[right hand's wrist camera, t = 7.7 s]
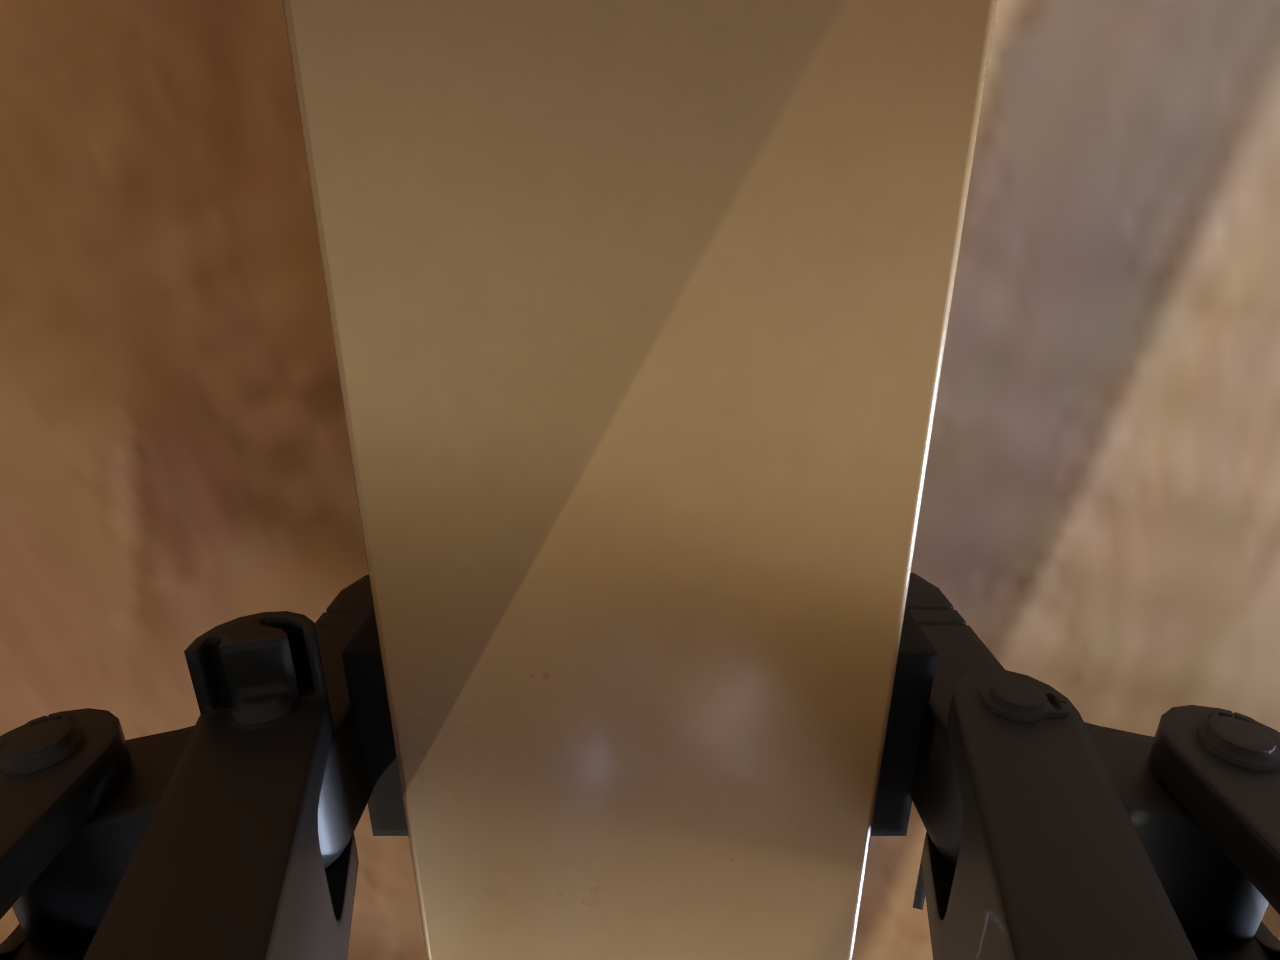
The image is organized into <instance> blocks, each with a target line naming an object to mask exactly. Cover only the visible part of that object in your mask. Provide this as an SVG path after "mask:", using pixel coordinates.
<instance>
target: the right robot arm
mask: <svg viewBox="0 0 1280 960" xmlns="http://www.w3.org/2000/svg"><path fill="white" fill-rule="evenodd" d="M184 653H185V656H186V660H187V664H188V668H189V671H190V675H191V679H192V683H193V686H194V690H195V694H196V698H197V701H198V705H199V709H200V713H201V715H200V717H199V719H198V721H197V723H196V725H195V726H191V727H187V728H184V729H179V730H175V731H170V732H165V733H160V734H155V735H150V736H145V737H140V738H135V739H130V740H125V737H124V734H123V731H122V728H121V725H120V722H119V719H118V718H117V717H115V716H114V715H113V714H111V713H110V712H109V711H105V710H97V709H90V708H87V709H79V710H72V711H63V712H58V713H54V714H49V716H43V717H40V718H37V719H34V720H31V721H29V722H28V723H26V724H25V725H22V726H20V727H18V728H16V729H14V730H12V731H10V732H7V733H5V734H3V735H2V736H0V919H1V918H2V917H3V916H4V915H5V913H6V912H7V911H8V910H9V909H10V908H11V907H12V908H13V910H14V912H15V914H16V917H17V919H18V921H19V925H18V926H17V927H16V928H15V930H14V931H13V932H12V933H11V934H10V936H9V937H8V938H7V939H6V940H5V941H4V942H2V943H1V944H0V960H347V953H348V945H349V937H350V929H351V921H352V912H353V904H354V896H355V888H356V879H357V871H358V863H359V862H358V855H357V847H356V842H355V837H354V830H355V828H356V826H357V824H358V822H359V820H360V817H361V815H362V813H363V811H364V809H365V807H366V805H367V802H368V807H369V813H370V819H371V824H372V830H373V836H409V834H408V828H407V821H406V815H405V808H404V801H403V795H402V788H401V782H400V775H399V768H398V762H397V755H396V748H395V742H394V735H393V729H392V722H391V715H390V709H389V702H388V696H387V689H386V682H385V676H384V669H383V662H382V656H381V649H380V643H379V636H378V629H377V623H376V616H375V609H374V603H373V596H372V590H371V583H370V576H369V575H366V576H364V577H363V578H361V579H360V580H358V581H356V582H355V583H353V584H351V585H350V586H348V587H347V588H345V589H343V590H342V591H341V592H340V593H339V594H338V596H337V597H336V598H335V599H334V600H333V602H332V603H331V604H330V605H329V607H328V608H327V612H326V613H323V614H322V615H321V617H320V618H319V619H318V620H317V621H316V623H314V622H313V621H312V620H310V619H309V618H308V617H306V616H305V615H302V614H297V613H292V612H287V611H283V612H263V613H258V614H254V615H249V616H244V617H240V618H237V619H234V620H232V621H229V622H226V623H224V624H221V625H219V626H216V627H214V628H213V629H211V630H209V631H208V632H206V633H204V634H203V635H201V636H199V637H198V638H196V639H195V640H194V642H193V643H192V644H191V645H190V646H189V647H188V648H187V649H186V650H185V651H184ZM912 800H913V802H914V804H915V806H916V809H917V811H918V813H919V815H920V817H921V819H922V821H923V823H924V826H925V828H926V830H927V831H926V837H925V842H924V847H923V853H922V858H921V863H920V869H919V874H918V879H917V885H916V890H915V897H914V903H913V908H917V909H921V910H923V905H924V899H925V895H926V902H927V911H928V919H929V927H930V935H931V943H932V952H933V960H1280V941H1279V940H1278V939H1277V938H1276V937H1275V936H1274V935H1273V934H1272V933H1271V932H1270V931H1269V929H1268V928H1267V927H1266V926H1265V925H1264V924H1263V923H1262V921H1261V920H1262V917H1263V915H1264V913H1265V910H1266V908H1267V906H1268V903H1270V904H1271V905H1272V906H1273V908H1274V909H1275V910H1276V911H1277V912H1278V913H1279V914H1280V733H1279V732H1278V731H1276V730H1274V729H1272V728H1270V727H1268V726H1265V725H1263V724H1261V723H1259V722H1257V721H1255V720H1254V719H1252V718H1250V717H1248V716H1245V715H1242V714H1239V713H1236V712H1235V713H1232V712H1231V711H1228V710H1224V709H1220V708H1211V707H1203V706H1195V705H1189V706H1181V707H1173V708H1171V709H1170V710H1169V711H1167V712H1166V713H1165V714H1163V715H1162V716H1161V720H1160V723H1159V726H1158V729H1157V732H1156V735H1155V737H1151V736H1146V735H1141V734H1136V733H1131V732H1126V731H1121V730H1116V729H1111V728H1106V727H1101V726H1097V725H1093V724H1089V723H1085V722H1083V720H1082V718H1081V715H1080V713H1079V712H1078V711H1077V709H1076V708H1075V707H1074V706H1073V704H1072V703H1071V702H1070V701H1069V699H1068V698H1066V697H1065V696H1064V695H1062V694H1061V693H1059V692H1058V691H1057V690H1055V689H1054V688H1052V687H1051V686H1049V685H1047V684H1045V683H1043V682H1041V681H1038V680H1036V679H1034V678H1031V677H1029V676H1027V675H1023V674H1019V673H1015V672H1011V671H1006V670H1005V669H1004V668H1003V667H1002V666H1001V664H1000V663H999V662H998V661H997V660H996V658H995V657H994V656H993V655H992V653H991V652H990V651H989V650H988V649H987V647H986V646H985V645H984V644H983V642H982V641H981V640H980V639H979V637H978V636H977V635H976V634H975V633H974V631H973V630H972V629H971V628H970V626H966V622H965V620H964V619H963V618H962V617H961V615H960V614H959V613H958V612H957V611H956V610H953V606H952V604H951V603H950V602H949V601H948V599H947V598H946V597H945V596H944V595H943V593H942V592H941V591H940V590H939V588H937V587H935V586H934V585H932V584H931V583H929V582H927V581H926V580H924V579H922V578H921V577H919V576H918V575H916V574H914V573H910V578H909V585H908V591H907V598H906V604H905V611H904V618H903V624H902V631H901V637H900V644H899V651H898V657H897V664H896V670H895V677H894V684H893V690H892V697H891V703H890V710H889V717H888V723H887V730H886V736H885V743H884V750H883V756H882V763H881V769H880V776H879V783H878V789H877V796H876V802H875V809H874V816H873V822H872V829H871V835H870V836H906V833H907V827H908V822H909V816H910V810H911V804H912Z"/></svg>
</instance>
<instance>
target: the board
mask: <svg viewBox="0 0 1280 960" xmlns="http://www.w3.org/2000/svg"><path fill="white" fill-rule="evenodd" d="M282 1H283V7H284V14H285V21H286V27H287V34H288V40H289V47H290V54H291V60H292V67H293V73H294V80H295V87H296V93H297V100H298V107H299V113H300V120H301V126H302V133H303V140H304V146H305V153H306V159H307V166H308V173H309V179H310V186H311V193H312V199H313V206H314V212H315V219H316V226H317V232H318V239H319V246H320V252H321V259H322V265H323V272H324V279H325V285H326V292H327V298H328V305H329V312H330V318H331V325H332V332H333V338H334V345H335V351H336V358H337V365H338V371H339V378H340V384H341V391H342V398H343V404H344V411H345V418H346V424H347V431H348V437H349V444H350V451H351V457H352V464H353V471H354V477H355V484H356V490H357V497H358V504H359V510H360V517H361V523H362V530H363V537H364V543H365V550H366V557H367V563H368V570H369V576H370V583H371V590H372V596H373V603H374V609H375V616H376V623H377V629H378V636H379V643H380V649H381V656H382V662H383V669H384V676H385V682H386V689H387V696H388V702H389V709H390V715H391V722H392V729H393V735H394V742H395V748H396V755H397V762H398V768H399V775H400V782H401V788H402V795H403V801H404V808H405V815H406V821H407V828H408V834H409V841H410V848H411V854H412V861H413V868H414V874H415V881H416V887H417V894H418V901H419V907H420V914H421V921H422V927H423V934H424V940H425V947H426V954H427V960H852V954H853V948H854V941H855V934H856V928H857V921H858V915H859V908H860V901H861V895H862V888H863V882H864V875H865V868H866V862H867V855H868V849H869V842H870V835H871V829H872V822H873V816H874V809H875V802H876V796H877V789H878V783H879V776H880V769H881V763H882V756H883V750H884V743H885V736H886V730H887V723H888V717H889V710H890V703H891V697H892V690H893V684H894V677H895V670H896V664H897V657H898V651H899V644H900V637H901V631H902V624H903V618H904V611H905V604H906V598H907V591H908V585H909V578H910V571H911V565H912V558H913V552H914V545H915V538H916V532H917V525H918V518H919V512H920V505H921V499H922V492H923V485H924V479H925V472H926V466H927V459H928V452H929V446H930V439H931V433H932V426H933V419H934V413H935V406H936V400H937V393H938V386H939V380H940V373H941V367H942V360H943V353H944V347H945V340H946V334H947V327H948V320H949V314H950V307H951V301H952V294H953V287H954V281H955V274H956V268H957V261H958V254H959V248H960V241H961V235H962V228H963V221H964V215H965V208H966V202H967V195H968V188H969V182H970V175H971V169H972V162H973V155H974V149H975V142H976V136H977V129H978V122H979V116H980V109H981V102H982V96H983V89H984V83H985V76H986V69H987V63H988V56H989V50H990V43H991V36H992V30H993V23H994V17H995V10H996V3H997V0H282Z"/></svg>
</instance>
